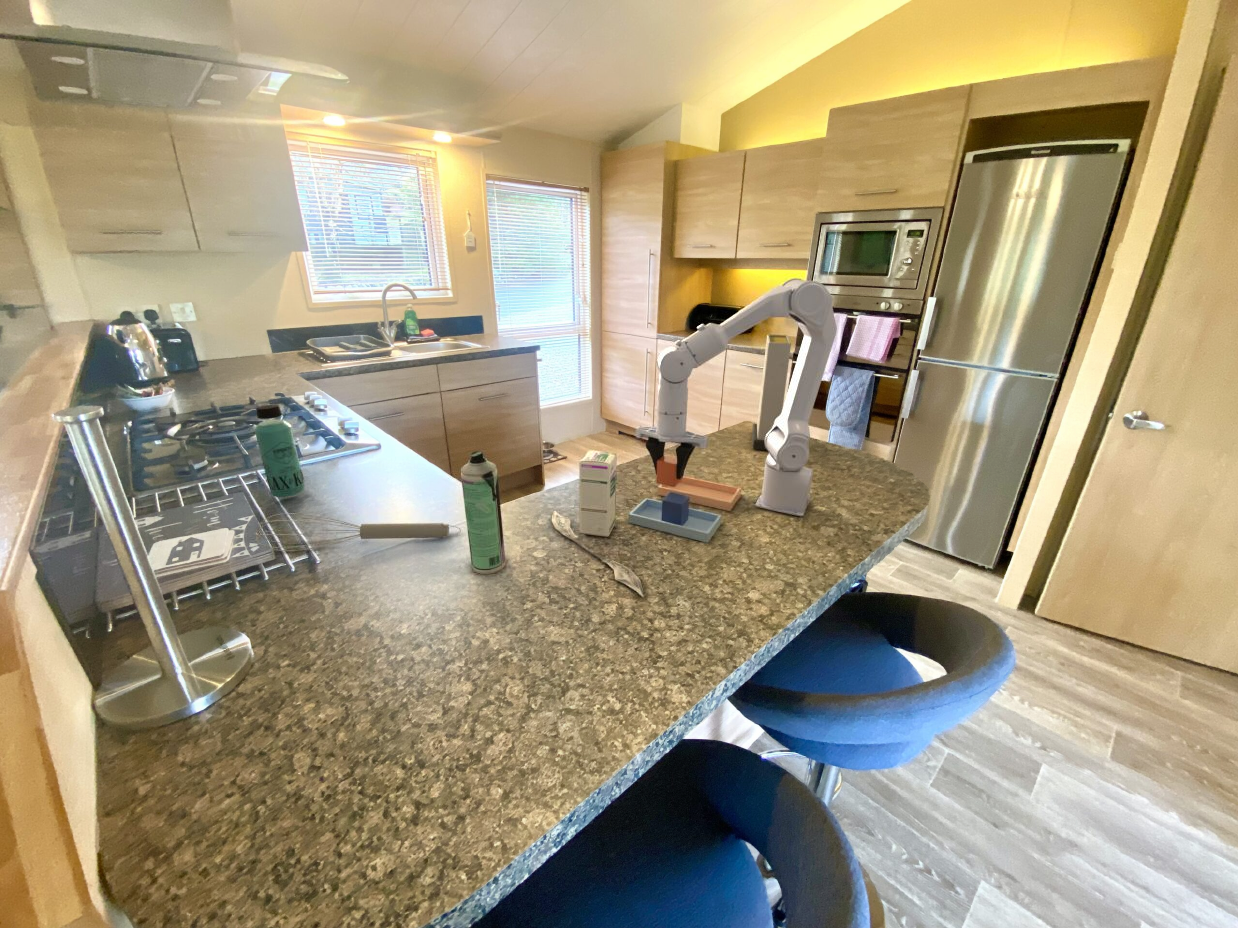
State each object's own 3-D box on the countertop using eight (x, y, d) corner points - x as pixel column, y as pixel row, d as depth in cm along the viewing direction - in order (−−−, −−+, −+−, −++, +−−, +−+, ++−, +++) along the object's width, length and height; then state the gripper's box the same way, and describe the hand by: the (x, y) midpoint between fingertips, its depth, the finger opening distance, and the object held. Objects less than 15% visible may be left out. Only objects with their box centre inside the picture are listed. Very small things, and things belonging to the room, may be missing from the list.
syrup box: (609, 537, 94) (612, 463, 89) (577, 533, 95) (579, 459, 90) (615, 523, 99) (618, 452, 94) (585, 519, 100) (587, 449, 95)
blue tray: (721, 523, 99) (721, 515, 99) (707, 542, 93) (708, 533, 92) (645, 505, 106) (646, 497, 106) (628, 522, 100) (628, 513, 99)
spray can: (511, 559, 88) (502, 449, 80) (494, 576, 83) (482, 461, 75) (483, 553, 89) (471, 444, 82) (465, 570, 84) (450, 456, 77)
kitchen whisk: (459, 544, 92) (455, 512, 90) (253, 560, 87) (242, 527, 85) (463, 527, 98) (459, 497, 95) (270, 541, 93) (260, 510, 90)
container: (777, 443, 149) (790, 336, 142) (782, 455, 131) (796, 333, 125) (751, 441, 150) (762, 335, 144) (752, 452, 133) (765, 332, 126)
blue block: (688, 519, 100) (689, 496, 98) (680, 528, 97) (682, 504, 95) (669, 514, 102) (670, 491, 100) (661, 523, 99) (662, 499, 97)
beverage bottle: (264, 500, 107) (238, 408, 100) (294, 488, 113) (271, 399, 106) (286, 506, 105) (261, 412, 98) (315, 493, 111) (293, 403, 103)
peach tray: (740, 495, 111) (741, 487, 110) (729, 511, 104) (730, 502, 104) (671, 481, 118) (671, 473, 117) (657, 494, 111) (657, 486, 111)
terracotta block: (681, 480, 106) (683, 457, 104) (674, 487, 103) (675, 464, 101) (664, 476, 108) (664, 454, 106) (656, 483, 105) (657, 460, 103)
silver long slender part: (556, 511, 103) (535, 518, 101) (556, 508, 103) (535, 515, 100) (664, 588, 80) (640, 600, 77) (664, 585, 80) (640, 597, 77)
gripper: (629, 411, 100) (628, 475, 105) (700, 421, 93) (696, 489, 99) (644, 402, 105) (643, 463, 111) (713, 412, 99) (708, 476, 104)
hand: (669, 475), depth 105 cm, fingers closed on terracotta block, 4 cm apart
